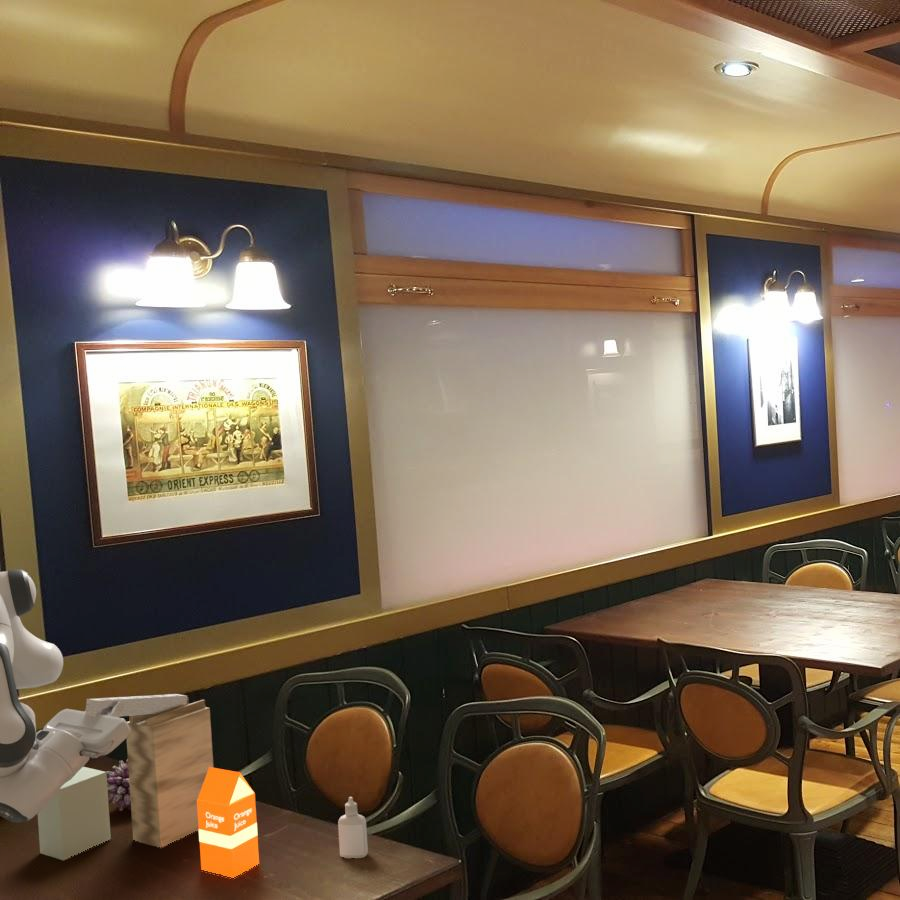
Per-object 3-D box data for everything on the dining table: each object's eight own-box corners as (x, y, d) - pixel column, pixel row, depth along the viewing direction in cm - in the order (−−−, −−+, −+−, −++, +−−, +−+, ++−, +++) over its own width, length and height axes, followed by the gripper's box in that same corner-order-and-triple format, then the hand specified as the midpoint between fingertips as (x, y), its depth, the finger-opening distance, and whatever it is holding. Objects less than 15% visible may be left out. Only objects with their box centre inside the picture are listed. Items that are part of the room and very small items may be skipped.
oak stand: (133, 840, 227) (124, 715, 227) (189, 815, 241) (181, 696, 240) (160, 848, 222) (152, 719, 222) (216, 821, 236) (209, 700, 235)
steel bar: (84, 716, 215) (86, 699, 215) (175, 709, 235) (176, 693, 235) (95, 718, 213) (97, 700, 213) (185, 711, 233) (187, 695, 233)
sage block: (40, 853, 223) (35, 783, 223) (87, 833, 233) (83, 766, 233) (63, 860, 219) (58, 789, 218) (110, 839, 229) (106, 771, 228)
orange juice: (232, 879, 205) (226, 778, 204) (200, 871, 210) (194, 772, 209) (260, 863, 212) (254, 766, 211) (228, 856, 216) (222, 760, 216)
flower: (110, 823, 238) (107, 771, 238) (99, 808, 249) (96, 758, 248) (161, 811, 244) (158, 761, 244) (148, 796, 254) (145, 748, 254)
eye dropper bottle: (356, 862, 210) (353, 803, 209) (336, 856, 213) (333, 798, 213) (371, 854, 213) (367, 796, 213) (351, 848, 217) (348, 791, 216)
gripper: (92, 747, 202) (139, 696, 212) (28, 734, 213) (76, 686, 223) (107, 770, 205) (153, 719, 214) (43, 756, 216) (90, 708, 226)
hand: (113, 702), depth 219 cm, fingers closed on steel bar, 3 cm apart
